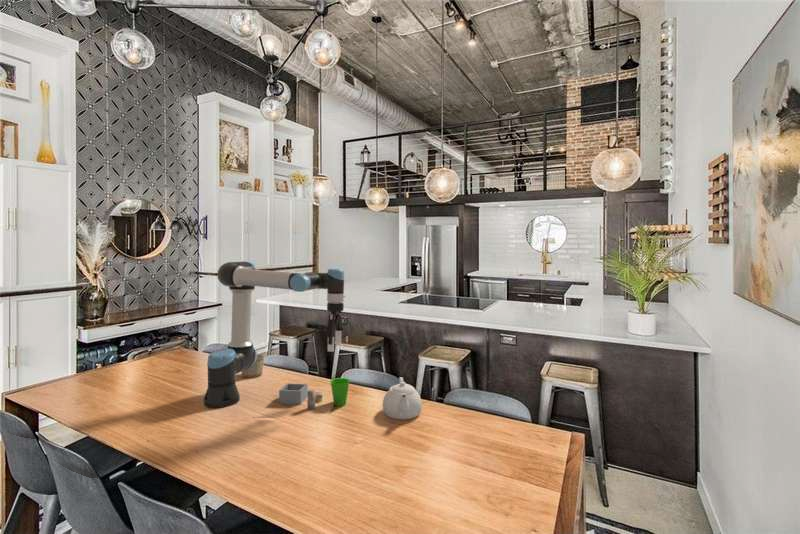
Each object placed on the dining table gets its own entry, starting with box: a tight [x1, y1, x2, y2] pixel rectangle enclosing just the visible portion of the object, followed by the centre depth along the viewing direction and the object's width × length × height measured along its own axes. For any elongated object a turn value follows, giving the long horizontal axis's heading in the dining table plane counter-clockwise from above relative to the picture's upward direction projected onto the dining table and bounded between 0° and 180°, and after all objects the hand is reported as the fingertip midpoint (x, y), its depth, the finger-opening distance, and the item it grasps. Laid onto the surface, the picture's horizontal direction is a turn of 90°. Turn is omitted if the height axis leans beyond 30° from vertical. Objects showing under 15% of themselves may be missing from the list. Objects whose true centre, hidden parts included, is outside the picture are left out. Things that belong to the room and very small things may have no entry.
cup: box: [329, 377, 351, 408], centre depth 181 cm, size 9×9×11 cm
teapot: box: [382, 376, 423, 421], centre depth 173 cm, size 19×18×14 cm
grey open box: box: [278, 382, 309, 405], centre depth 184 cm, size 10×10×7 cm
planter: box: [240, 353, 265, 379], centre depth 224 cm, size 13×13×10 cm
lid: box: [307, 389, 316, 411], centre depth 174 cm, size 12×12×9 cm
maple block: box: [315, 391, 323, 403], centre depth 184 cm, size 4×4×4 cm
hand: (334, 347), depth 184 cm, fingers open, 13 cm apart
